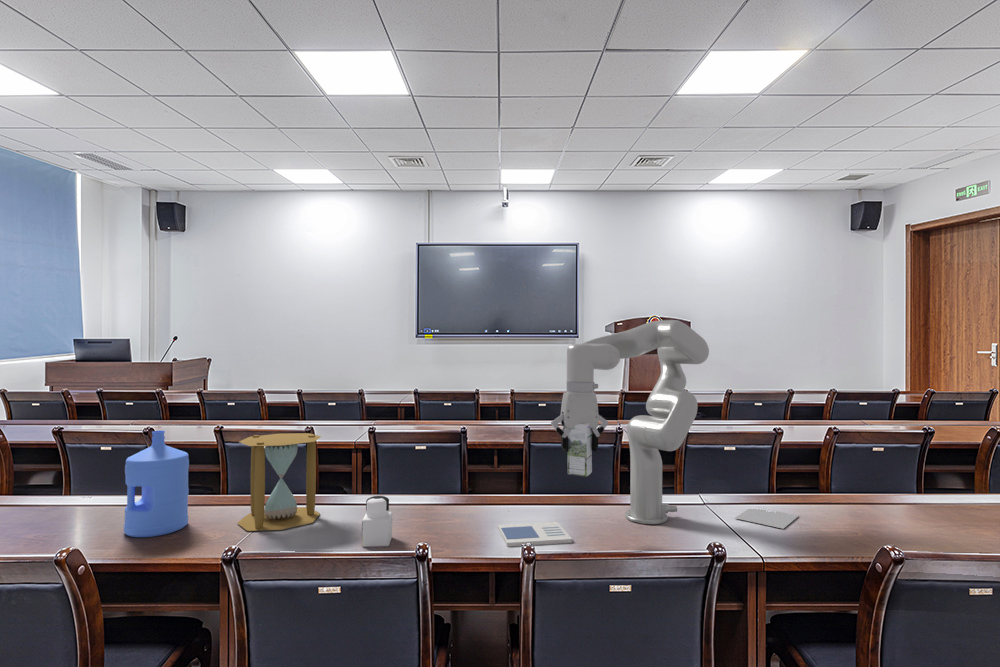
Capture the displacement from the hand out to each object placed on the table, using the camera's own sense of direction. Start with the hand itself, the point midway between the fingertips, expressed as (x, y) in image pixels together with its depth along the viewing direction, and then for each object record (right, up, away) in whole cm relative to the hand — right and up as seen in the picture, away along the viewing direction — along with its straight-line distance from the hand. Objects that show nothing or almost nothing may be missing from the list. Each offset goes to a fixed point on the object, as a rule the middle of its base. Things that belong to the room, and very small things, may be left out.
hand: (579, 450), depth 152 cm
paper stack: (+61, -25, +10) cm, 67 cm away
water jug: (-121, -24, +4) cm, 124 cm away
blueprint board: (-13, -24, 0) cm, 27 cm away
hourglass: (-89, -24, +13) cm, 93 cm away
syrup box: (0, -7, 0) cm, 7 cm away
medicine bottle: (-56, -24, -6) cm, 61 cm away
